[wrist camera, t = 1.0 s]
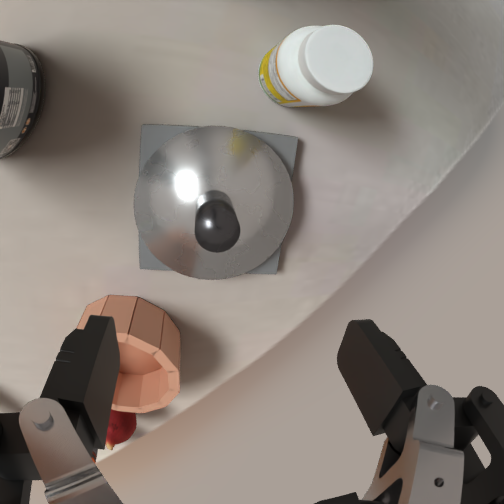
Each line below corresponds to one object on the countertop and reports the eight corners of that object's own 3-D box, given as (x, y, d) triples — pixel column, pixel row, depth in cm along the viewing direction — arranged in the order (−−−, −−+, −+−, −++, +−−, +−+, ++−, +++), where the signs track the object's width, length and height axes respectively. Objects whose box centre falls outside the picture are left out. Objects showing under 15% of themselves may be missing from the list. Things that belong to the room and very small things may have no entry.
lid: (139, 122, 21) (119, 124, 15) (300, 135, 23) (330, 142, 18) (137, 270, 26) (124, 310, 20) (278, 276, 28) (296, 315, 23)
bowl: (71, 292, 26) (52, 325, 21) (179, 298, 28) (177, 336, 24) (90, 370, 31) (80, 405, 26) (181, 377, 33) (181, 415, 28)
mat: (144, 124, 22) (141, 124, 21) (294, 136, 24) (298, 137, 23) (141, 263, 26) (139, 268, 26) (273, 269, 29) (276, 274, 28)
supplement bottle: (249, 96, 22) (277, 85, 13) (267, 37, 20) (304, -2, 11) (312, 116, 23) (370, 120, 15) (328, 59, 21) (392, 38, 13)
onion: (86, 391, 32) (74, 441, 25) (112, 375, 32) (101, 429, 24) (120, 414, 35) (114, 463, 28) (148, 400, 34) (144, 453, 27)
